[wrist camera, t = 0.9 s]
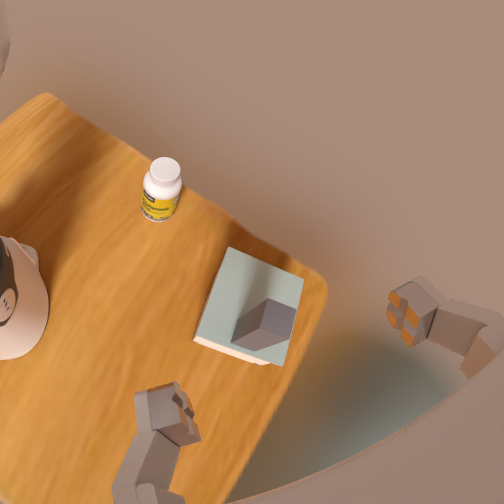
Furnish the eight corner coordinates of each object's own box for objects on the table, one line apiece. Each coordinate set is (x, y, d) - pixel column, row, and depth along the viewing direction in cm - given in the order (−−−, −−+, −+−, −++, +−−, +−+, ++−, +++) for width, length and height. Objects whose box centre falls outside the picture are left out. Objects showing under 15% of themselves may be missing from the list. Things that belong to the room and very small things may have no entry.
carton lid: (281, 366, 36) (324, 356, 28) (195, 335, 34) (215, 316, 26) (302, 280, 42) (343, 251, 34) (227, 248, 40) (253, 208, 32)
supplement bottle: (134, 215, 44) (137, 175, 36) (149, 188, 47) (155, 147, 39) (167, 229, 45) (176, 191, 37) (180, 201, 48) (192, 161, 40)
